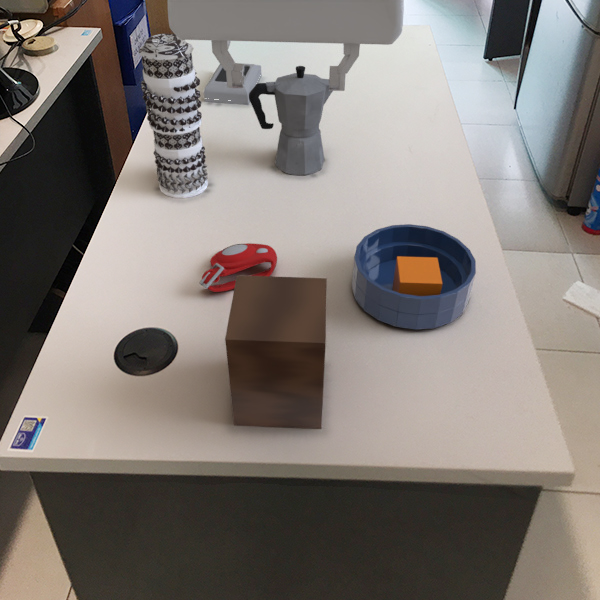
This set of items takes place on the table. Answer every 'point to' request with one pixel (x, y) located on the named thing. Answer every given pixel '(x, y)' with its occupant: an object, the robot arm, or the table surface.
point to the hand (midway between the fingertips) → (286, 87)
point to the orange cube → (417, 276)
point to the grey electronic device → (236, 95)
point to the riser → (277, 351)
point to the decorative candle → (174, 115)
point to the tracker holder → (237, 264)
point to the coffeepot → (296, 119)
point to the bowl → (381, 268)
